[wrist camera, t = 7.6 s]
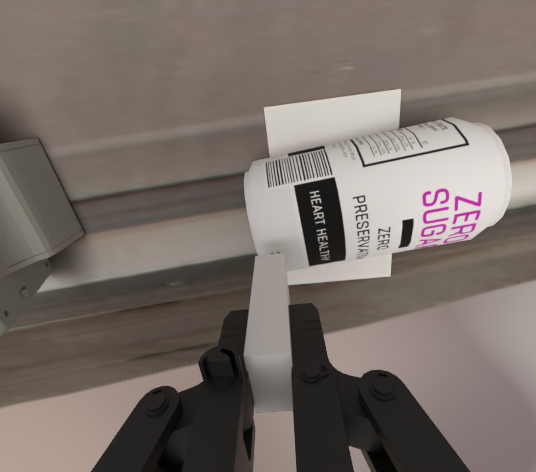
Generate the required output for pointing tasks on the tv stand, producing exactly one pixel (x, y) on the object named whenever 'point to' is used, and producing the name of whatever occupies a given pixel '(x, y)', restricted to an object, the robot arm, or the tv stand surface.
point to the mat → (328, 132)
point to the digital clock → (29, 224)
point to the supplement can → (378, 193)
